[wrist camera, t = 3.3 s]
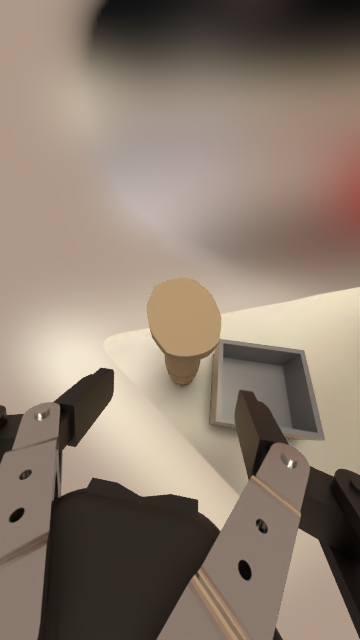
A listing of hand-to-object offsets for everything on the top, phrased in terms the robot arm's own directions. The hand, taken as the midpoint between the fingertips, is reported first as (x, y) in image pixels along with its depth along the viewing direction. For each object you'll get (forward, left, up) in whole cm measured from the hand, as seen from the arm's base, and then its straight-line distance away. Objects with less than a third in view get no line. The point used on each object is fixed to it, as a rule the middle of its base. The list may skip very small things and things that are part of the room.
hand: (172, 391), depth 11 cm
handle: (0, -5, -13) cm, 14 cm away
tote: (-9, -4, -13) cm, 16 cm away
